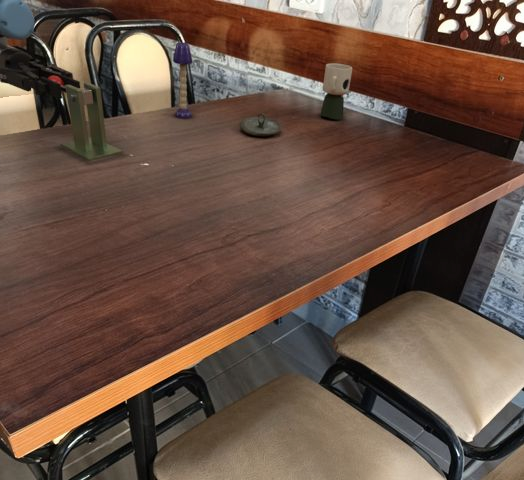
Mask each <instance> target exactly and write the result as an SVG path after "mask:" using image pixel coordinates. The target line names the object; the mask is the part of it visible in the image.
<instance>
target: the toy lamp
mask: <svg viewBox="0 0 524 480" xmlns="http://www.w3.org/2000/svg"><path fill="white" fill-rule="evenodd" d="M172 62H173V63H175V64H177V65H179V83H180V84H179V108H178V109H177V110H176V111H175V116H174V117H175V118H177V119H183V120H187V119H191V118H192V116H193V115H192V112H191V111H190V110H189V109H187V100H188V99H187V94H188V92H187V89H188V87H187V86H188V85H187V81H188V79H187V78H188V77H187V73H188V72H187V65H191V64H193V58H192V52H191V47H190V44H189V43H187V42H177V43H176V44H175V48H174V53H173V58H172Z"/></svg>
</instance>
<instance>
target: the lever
mask: <svg viewBox="0 0 524 480" xmlns="http://www.w3.org/2000/svg"><path fill="white" fill-rule="evenodd" d="M48 79H50V80H52V81H55V82H57V83H59V84H60V87H61V93H62V94H63V93H65V94H67V93H66V87H65V85H64V82H63V81H62V79H61V78H59V77H57V76H50V77H49V78H48ZM79 89H81V90H82V94H83V101H84V106H87V104H93V103H94V102H93V95H92V90H89V89H87V88H84V87H80V88H79Z"/></svg>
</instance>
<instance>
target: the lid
mask: <svg viewBox="0 0 524 480" xmlns="http://www.w3.org/2000/svg"><path fill="white" fill-rule="evenodd" d="M238 126H239V128H240V129H241V130H242V131H243V132H244V133H246V134H248V135H250V136H255V137H269V136H274V135H276V134H278V133H280V132H281V130H282V129H283V125H282V124H281V123H280V121H278V120H276V119H273V118H271V117H266V115H265V113H262V112H260V113H258V115H257V116H251V117H246V118H244V119H242V120H240V121H239V125H238Z"/></svg>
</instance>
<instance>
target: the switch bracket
mask: <svg viewBox="0 0 524 480" xmlns="http://www.w3.org/2000/svg"><path fill="white" fill-rule="evenodd" d="M65 87H66V93H65V94H66V98H67V105H68V111H69V119H70V124H71V131H72V135H73V136H72V137H73V140H68V141H63V142H59V146H60V147H61V148H63V149H65V150H68V151H69V152H71V153H73V154H75V155H77V156H79V157H80V158H82V159H84V160H86V161H87V162H91V161H96V160H101V159H105V158H111V157H114V156H119V155H123V154H124V152H123V150H122V149H120V148H118V147H115V146H113V145H111V144H109V143H108V142H107V136H106V126H105V116H104V110H103V109H104V108H103V102H102V100H103V99H102V92H101V87H100V86H98V85H95V84H93V83H90V82H89V81H87V82H83V88H87V89H89V90H92V95H93V102H94V103H93V104H87V105H86V110H85V105H84V101H83V94H82V90H81V89H79V88H76V87H74V86H72V85H65ZM86 111H87V116H86ZM87 118H88V124H87ZM88 126H89V131H90V132H89V131H88ZM89 135H90V136H89Z"/></svg>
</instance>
